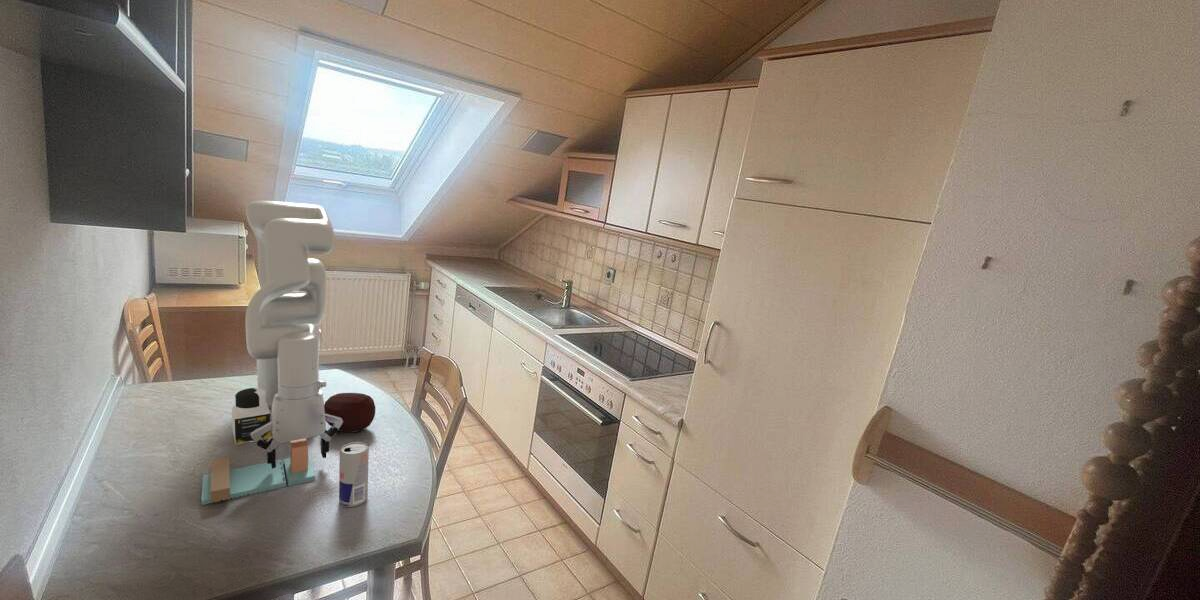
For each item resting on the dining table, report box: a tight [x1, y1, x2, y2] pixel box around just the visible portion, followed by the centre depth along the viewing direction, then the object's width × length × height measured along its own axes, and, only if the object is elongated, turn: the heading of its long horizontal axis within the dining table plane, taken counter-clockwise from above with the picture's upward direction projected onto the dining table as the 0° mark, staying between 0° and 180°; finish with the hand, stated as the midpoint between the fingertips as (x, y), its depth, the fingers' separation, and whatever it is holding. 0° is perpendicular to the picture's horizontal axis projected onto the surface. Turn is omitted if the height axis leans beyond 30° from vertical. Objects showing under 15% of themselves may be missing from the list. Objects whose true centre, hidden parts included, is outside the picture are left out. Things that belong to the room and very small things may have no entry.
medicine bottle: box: [231, 387, 272, 445], centre depth 119 cm, size 7×7×12 cm
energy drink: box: [338, 441, 370, 508], centre depth 100 cm, size 5×5×12 cm
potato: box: [324, 392, 376, 433], centre depth 128 cm, size 11×13×10 cm
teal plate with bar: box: [200, 456, 287, 506], centre depth 102 cm, size 13×14×3 cm
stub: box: [283, 438, 316, 487], centre depth 108 cm, size 10×5×7 cm, turn 37°
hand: (299, 460), depth 108 cm, fingers open, 9 cm apart
